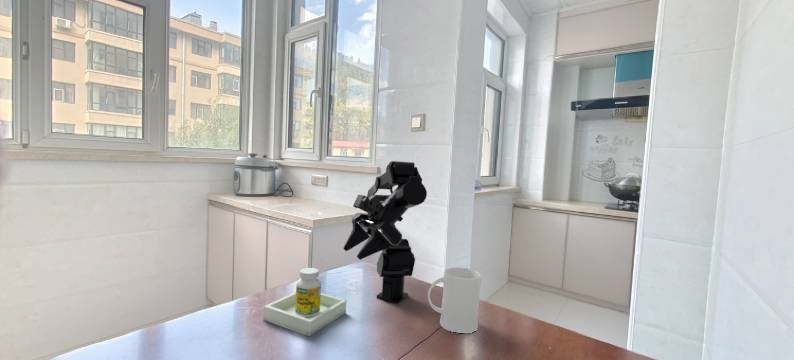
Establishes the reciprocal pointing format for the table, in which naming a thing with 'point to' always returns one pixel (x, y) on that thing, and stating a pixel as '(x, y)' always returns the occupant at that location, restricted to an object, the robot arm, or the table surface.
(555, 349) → the table surface
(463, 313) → the mug
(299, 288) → the supplement bottle
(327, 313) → the tray
